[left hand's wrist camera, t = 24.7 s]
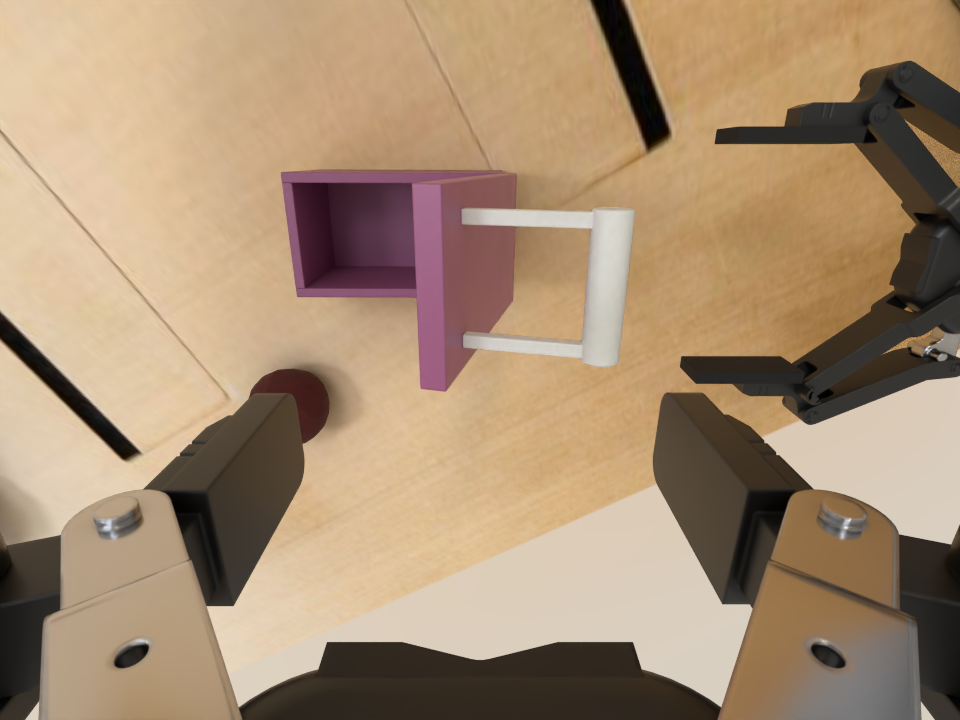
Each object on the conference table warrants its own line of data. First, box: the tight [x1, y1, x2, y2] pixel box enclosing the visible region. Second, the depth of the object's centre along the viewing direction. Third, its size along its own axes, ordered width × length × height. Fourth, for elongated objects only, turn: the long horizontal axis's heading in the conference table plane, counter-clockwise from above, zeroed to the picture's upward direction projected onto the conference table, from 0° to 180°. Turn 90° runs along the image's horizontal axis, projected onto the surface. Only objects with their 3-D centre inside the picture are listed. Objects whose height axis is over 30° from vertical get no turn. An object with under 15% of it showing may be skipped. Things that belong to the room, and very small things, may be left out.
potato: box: [249, 369, 329, 444], centre depth 50 cm, size 7×8×7 cm
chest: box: [281, 170, 507, 297], centre depth 43 cm, size 16×9×10 cm, turn 90°
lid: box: [412, 173, 635, 391], centre depth 29 cm, size 17×9×9 cm
